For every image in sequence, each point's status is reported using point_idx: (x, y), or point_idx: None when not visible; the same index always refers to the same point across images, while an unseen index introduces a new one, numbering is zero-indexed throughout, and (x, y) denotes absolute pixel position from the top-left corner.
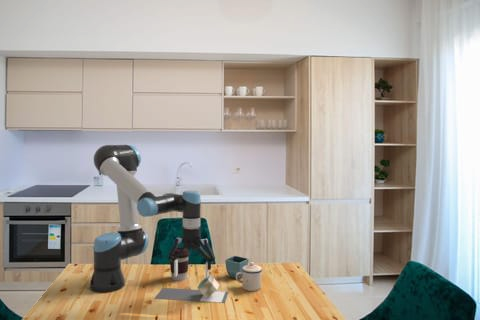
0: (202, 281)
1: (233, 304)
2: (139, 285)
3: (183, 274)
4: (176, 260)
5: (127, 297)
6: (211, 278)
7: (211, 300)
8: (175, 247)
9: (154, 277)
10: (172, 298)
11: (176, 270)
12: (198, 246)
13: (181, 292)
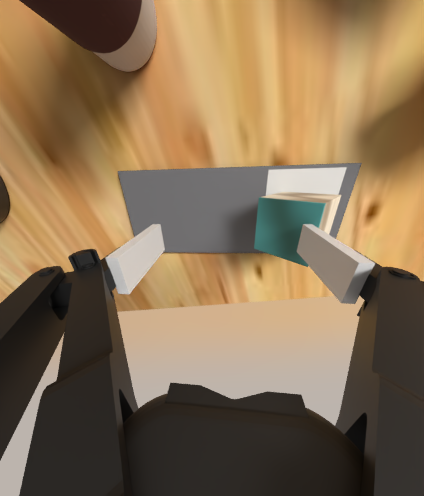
0: (272, 215)
1: (353, 245)
2: (30, 148)
3: (137, 30)
4: (118, 273)
5: (72, 241)
6: (321, 228)
7: None
8: (8, 432)
9: (2, 21)
10: (182, 245)
11: (153, 254)
12: (395, 451)
13: (192, 201)
